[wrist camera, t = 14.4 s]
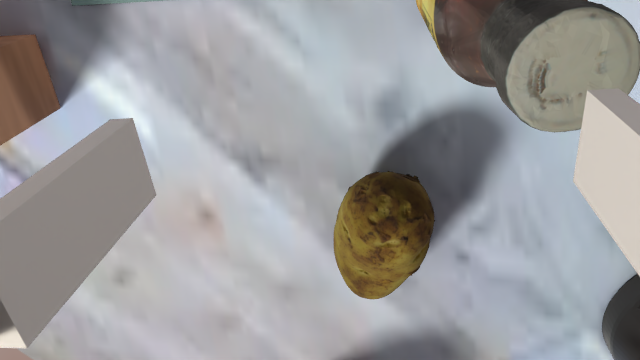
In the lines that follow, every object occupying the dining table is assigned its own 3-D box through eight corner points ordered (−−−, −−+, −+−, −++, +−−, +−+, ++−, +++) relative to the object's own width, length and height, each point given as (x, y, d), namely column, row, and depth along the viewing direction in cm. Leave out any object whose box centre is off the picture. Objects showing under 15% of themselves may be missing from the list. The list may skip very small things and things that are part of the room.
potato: (301, 242, 44) (285, 304, 37) (373, 131, 38) (371, 181, 31) (379, 281, 45) (378, 348, 38) (462, 179, 39) (479, 237, 32)
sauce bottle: (397, 7, 33) (411, 116, 16) (443, -89, 30) (522, -84, 13) (482, 46, 34) (584, 191, 16) (535, -45, 31) (729, 18, 13)
